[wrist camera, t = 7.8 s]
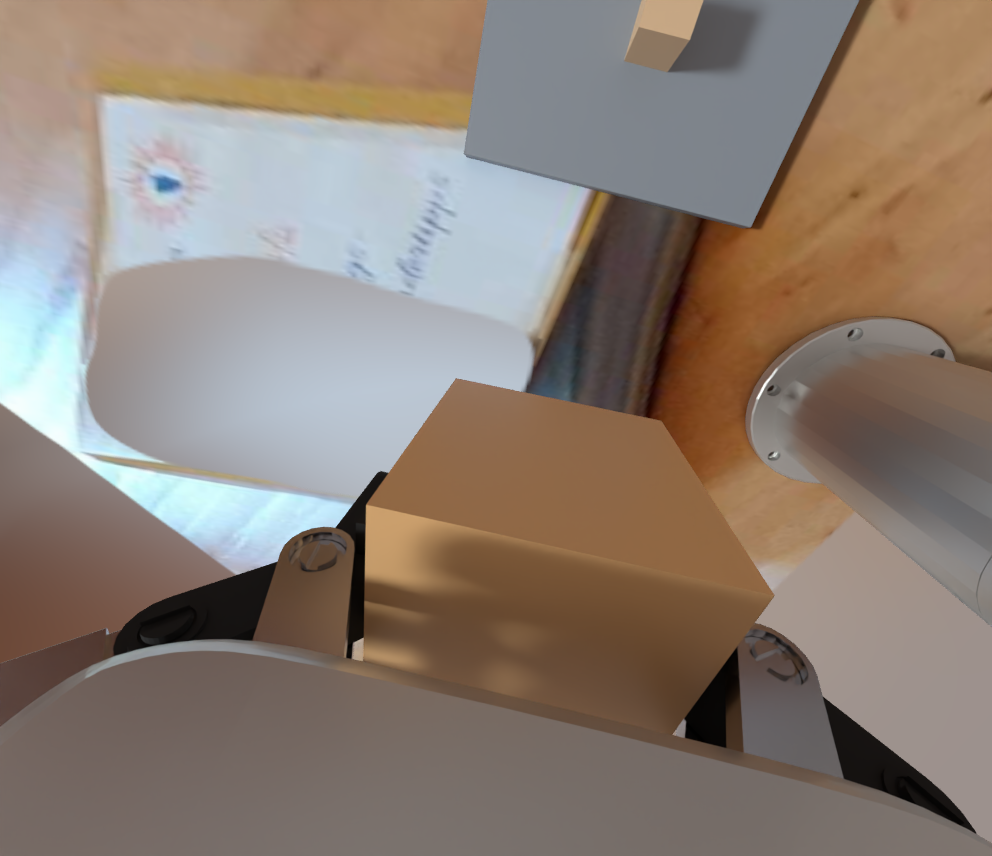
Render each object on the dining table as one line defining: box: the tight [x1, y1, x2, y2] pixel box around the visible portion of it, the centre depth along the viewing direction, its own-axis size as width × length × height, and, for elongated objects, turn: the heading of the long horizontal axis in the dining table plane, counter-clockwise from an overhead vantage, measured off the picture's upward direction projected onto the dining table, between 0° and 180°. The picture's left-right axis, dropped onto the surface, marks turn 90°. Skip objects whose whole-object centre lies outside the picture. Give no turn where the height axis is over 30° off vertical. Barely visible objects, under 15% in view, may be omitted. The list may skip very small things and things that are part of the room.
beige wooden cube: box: [363, 378, 774, 735], centre depth 9 cm, size 6×6×6 cm
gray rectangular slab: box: [464, 0, 859, 228], centre depth 19 cm, size 18×14×4 cm
